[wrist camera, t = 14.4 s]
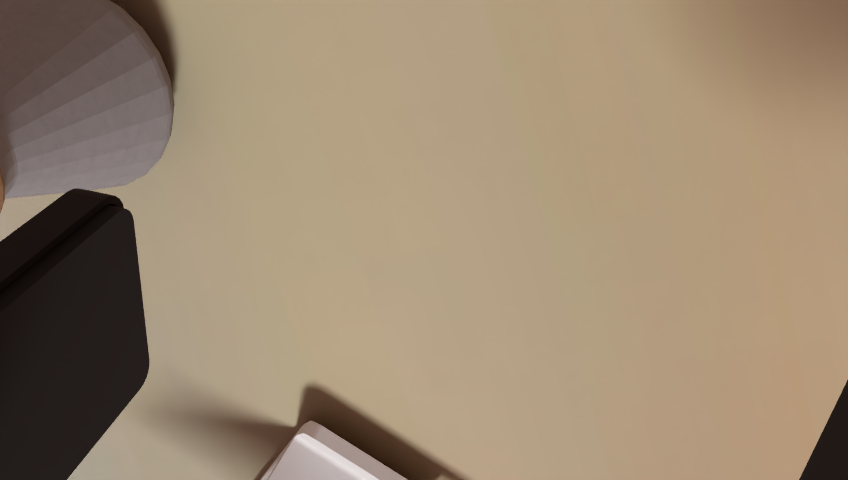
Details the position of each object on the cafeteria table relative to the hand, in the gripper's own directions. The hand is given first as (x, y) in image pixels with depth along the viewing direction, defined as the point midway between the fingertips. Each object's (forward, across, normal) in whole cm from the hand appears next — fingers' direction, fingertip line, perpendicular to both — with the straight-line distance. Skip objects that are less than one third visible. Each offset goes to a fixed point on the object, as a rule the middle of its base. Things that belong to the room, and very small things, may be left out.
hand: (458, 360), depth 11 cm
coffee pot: (+31, +28, +15) cm, 44 cm away
